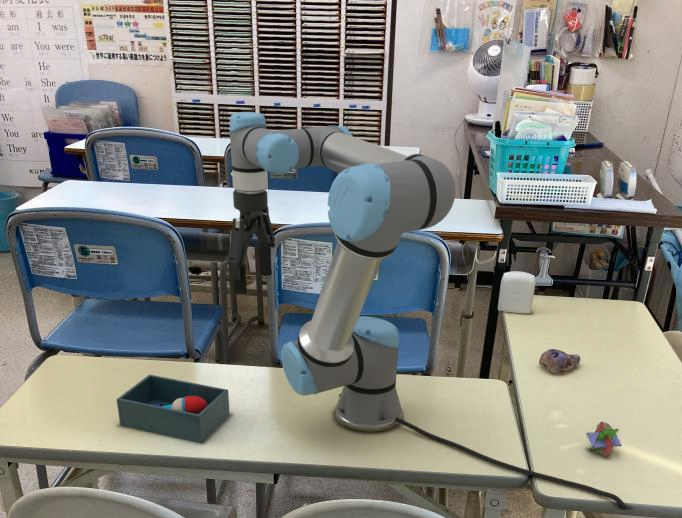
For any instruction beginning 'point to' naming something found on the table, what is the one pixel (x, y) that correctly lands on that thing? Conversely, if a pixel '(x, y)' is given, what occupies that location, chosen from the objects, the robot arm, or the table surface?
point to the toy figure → (188, 404)
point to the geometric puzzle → (604, 438)
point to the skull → (559, 361)
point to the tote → (155, 390)
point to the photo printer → (516, 292)
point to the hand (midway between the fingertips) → (253, 283)
